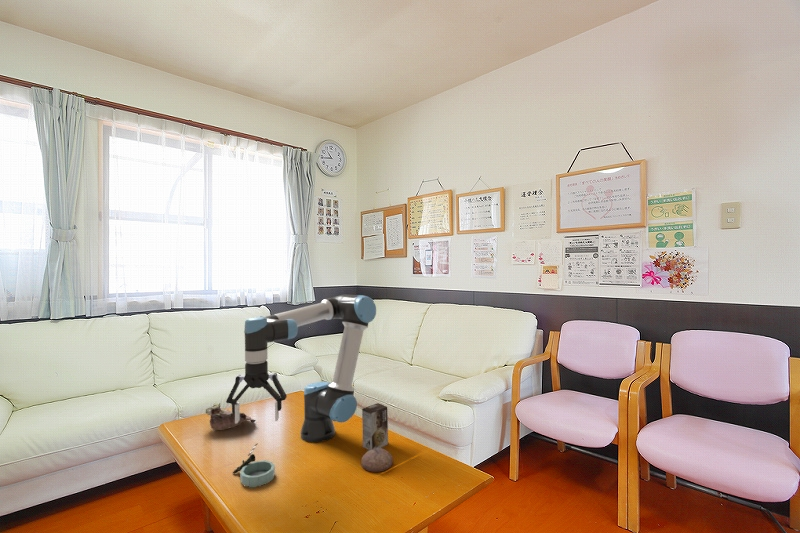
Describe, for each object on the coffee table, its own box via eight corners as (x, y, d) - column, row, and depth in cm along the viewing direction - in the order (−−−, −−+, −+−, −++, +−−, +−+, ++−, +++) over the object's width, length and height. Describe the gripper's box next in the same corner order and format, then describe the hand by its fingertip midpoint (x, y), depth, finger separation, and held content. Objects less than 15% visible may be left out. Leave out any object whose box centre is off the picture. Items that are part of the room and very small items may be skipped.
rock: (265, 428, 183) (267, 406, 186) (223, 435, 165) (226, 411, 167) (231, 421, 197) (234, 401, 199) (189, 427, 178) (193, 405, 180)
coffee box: (378, 439, 166) (378, 402, 166) (388, 444, 161) (388, 406, 161) (362, 446, 160) (361, 408, 159) (372, 452, 155) (371, 412, 155)
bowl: (277, 469, 143) (277, 459, 143) (270, 486, 131) (270, 475, 131) (245, 471, 141) (245, 461, 141) (236, 489, 130) (236, 478, 130)
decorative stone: (374, 476, 136) (374, 460, 136) (354, 465, 145) (354, 450, 145) (399, 464, 144) (398, 449, 144) (378, 454, 153) (378, 440, 153)
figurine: (250, 453, 136) (224, 471, 137) (257, 462, 136) (231, 479, 137) (257, 443, 142) (232, 459, 143) (264, 451, 142) (238, 468, 143)
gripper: (293, 357, 141) (294, 414, 142) (223, 360, 138) (224, 418, 139) (290, 362, 134) (291, 422, 134) (215, 365, 131) (216, 427, 131)
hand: (257, 420), depth 136 cm, fingers open, 13 cm apart
